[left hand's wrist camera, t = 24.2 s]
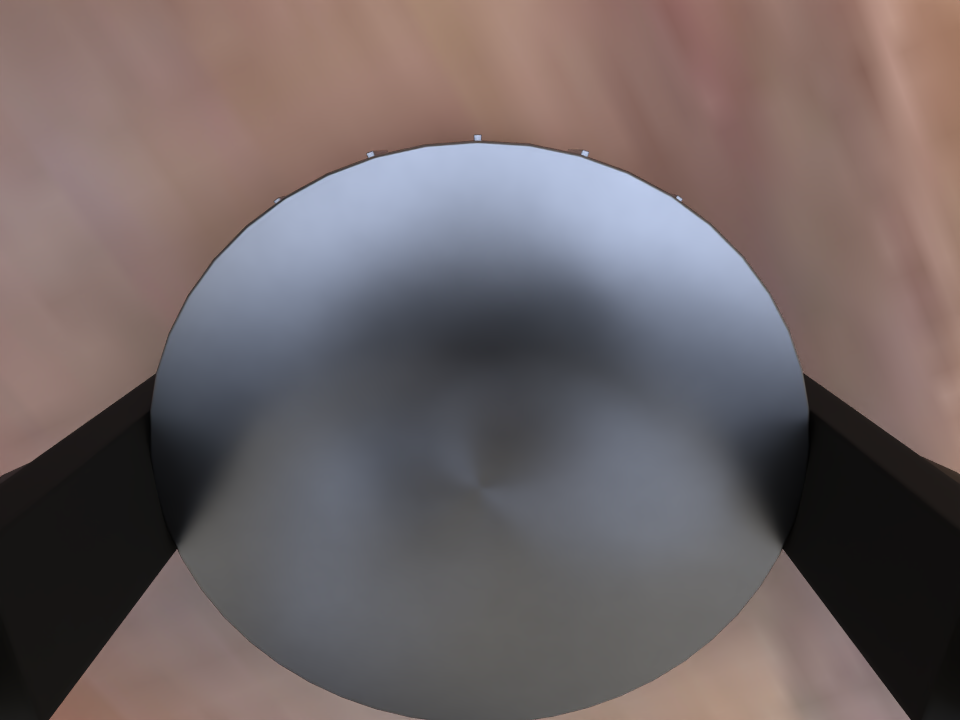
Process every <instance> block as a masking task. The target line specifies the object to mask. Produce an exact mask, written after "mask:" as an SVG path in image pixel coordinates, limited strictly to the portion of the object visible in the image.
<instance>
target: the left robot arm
mask: <svg viewBox="0 0 960 720" xmlns="http://www.w3.org/2000/svg"><path fill="white" fill-rule="evenodd" d="M803 376H804V382H805V388H806V394H807V400H808V406H809V433H810V450H809V457H808V465H807V472H806V477H805V482H804V487H803V491H802V495H801V499H800V504H799V507H798V511H797V514H796V518H795V521H794V524H793V526H792V528H791V530H790V533H789V535H788V537H787V539H786V542H785V544H784V546H783V550H784V551H785V552H786V554H787V555H788V556H789V558H790V559H791V560H792V562H793V563H794V564H795V566H796V567H797V568H798V570H799V571H800V572H801V574H802V575H803V576H804V578H805V579H806V580H807V582H808V583H809V584H810V586H811V587H812V588H813V590H814V591H815V592H816V594H817V595H818V596H819V598H820V599H821V600H822V602H823V603H824V604H825V606H826V607H827V608H828V610H829V611H830V612H831V614H832V615H833V616H834V618H835V619H836V620H837V622H838V623H839V624H840V626H841V627H842V628H843V630H844V631H845V632H846V634H847V635H848V636H849V638H850V639H851V640H852V642H853V643H854V644H855V646H856V647H857V648H858V650H859V651H860V652H861V654H862V655H863V657H864V658H865V659H866V661H867V662H868V663H869V665H870V666H871V667H872V669H873V670H874V671H875V673H876V674H877V675H878V677H879V678H880V679H881V681H882V682H883V683H884V685H885V686H886V687H887V689H888V690H889V691H890V693H891V694H892V695H893V697H894V698H895V699H896V701H897V702H898V703H899V705H900V706H901V707H902V709H903V710H904V711H905V713H906V714H907V715H908V717H909V718H910V719H911V720H960V474H959V473H957V472H955V471H953V470H950V469H948V468H946V467H944V466H942V465H939V464H937V463H935V462H933V461H930V460H928V459H926V458H924V457H922V456H920V455H918V454H917V453H915V452H914V451H912V450H911V449H910V448H908V447H907V446H905V445H904V444H903V443H901V442H900V441H898V440H897V439H896V438H894V437H893V436H891V435H890V434H888V433H887V432H886V431H884V430H883V429H881V428H880V427H879V426H877V425H876V424H874V423H873V422H872V421H870V420H869V419H867V418H866V417H864V416H863V415H862V414H860V413H859V412H857V411H856V410H855V409H853V408H852V407H850V406H849V405H848V404H846V403H845V402H843V401H842V400H840V399H839V398H838V397H836V396H835V395H833V394H832V393H831V392H829V391H828V390H826V389H825V388H824V387H822V386H821V385H819V384H818V383H816V382H815V381H814V380H812V379H811V378H809V377H808V376H807V375H805V374H804V373H803ZM155 378H156V374H155V375H153V376H152V377H150V378H149V379H148V380H146V381H145V382H143V383H142V384H140V385H139V386H138V387H136V388H135V389H133V390H132V391H131V392H129V393H128V394H126V395H125V396H124V397H122V398H121V399H119V400H118V401H116V402H115V403H114V404H112V405H111V406H109V407H108V408H107V409H105V410H104V411H102V412H101V413H100V414H98V415H97V416H95V417H94V418H92V419H91V420H90V421H88V422H87V423H85V424H84V425H83V426H81V427H80V428H78V429H77V430H76V431H74V432H73V433H71V434H70V435H68V436H67V437H66V438H64V439H63V440H61V441H60V442H59V443H57V444H56V445H54V446H53V447H52V448H50V449H49V450H47V451H46V452H44V453H43V454H42V455H40V456H39V457H37V458H36V459H35V460H33V461H32V462H30V463H28V464H26V465H24V466H22V467H19V468H17V469H15V470H13V471H11V472H8V473H6V474H4V475H2V476H1V477H0V720H49V719H50V718H51V716H52V715H53V714H54V712H55V711H56V710H57V708H58V707H59V706H60V704H61V703H62V702H63V700H64V699H65V698H66V696H67V695H68V694H69V692H70V691H71V690H72V688H73V687H74V686H75V684H76V683H77V682H78V680H79V679H80V678H81V676H82V675H83V674H84V672H85V671H86V670H87V668H88V667H89V666H90V664H91V663H92V662H93V660H94V659H95V658H96V656H97V655H98V654H99V652H100V651H101V650H102V648H103V647H104V646H105V644H106V643H107V642H108V640H109V639H110V638H111V636H112V635H113V634H114V632H115V631H116V630H117V628H118V627H119V626H120V624H121V623H122V622H123V620H124V619H125V618H126V616H127V615H128V614H129V612H130V611H131V610H132V608H133V607H134V606H135V604H136V603H137V601H138V600H139V599H140V597H141V596H142V595H143V593H144V592H145V591H146V589H147V588H148V587H149V585H150V584H151V583H152V581H153V580H154V579H155V577H156V576H157V575H158V573H159V572H160V571H161V569H162V568H163V567H164V565H165V564H166V563H167V561H168V560H169V559H170V557H171V556H172V555H173V553H174V552H175V551H176V549H177V547H176V545H175V543H174V541H173V538H172V536H171V534H170V532H169V530H168V528H167V525H166V522H165V519H164V516H163V512H162V509H161V505H160V501H159V497H158V493H157V488H156V483H155V478H154V473H153V468H152V462H151V455H150V410H151V403H152V397H153V391H154V384H155Z"/></svg>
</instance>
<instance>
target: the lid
mask: <svg viewBox="0 0 960 720" xmlns="http://www.w3.org/2000/svg"><path fill="white" fill-rule="evenodd" d="M588 154H589V152H588V151H585V150H574V149H568V152H567V151H562V150H557V149H553V148H548V147H543V146H538V145H533V144H526V143H510V142H495V141H481V135H474V141H463V142H450V143H437V144H425V145H420V146H416V147H411V148H407V149H402V150H397V151H393V152H388V150H384V151H371V152H368V153H367V157H368V158H367V159H364V160H361V161H359V162H356V163H353V164H351V165H348V166H345V167H343V168H340V169H337V170H335V171H332V172H329V173H327V174H325V175H323V176H321V177H320V178H318V179H316V180H314V181H312V182H311V183H309V184H307V185H305V186H303V187H301V188H300V189H298V190H296V191H294V192H292V193H290V194H289V195H287V196H283V197H279V198H277V199H276V200H275V201H274V203H275V204H274V205H273V206H272V207H270V208H269V209H268V210H266V211H265V212H264V213H262V214H261V215H260V216H258V217H257V218H256V219H254V220H253V221H252V222H250V223H249V224H248V225H246V226H245V227H244V228H243V229H242V231H241V232H240V233H239V234H238V235H237V236H236V237H235V238H234V239H233V240H232V241H231V242H230V243H229V244H228V245H227V246H226V247H225V248H224V249H223V250H222V251H221V252H220V253H219V254H218V255H217V256H216V257H215V258H214V259H213V261H212V262H211V264H210V265H209V266H208V268H207V269H206V271H205V272H204V273H203V275H202V276H201V278H200V279H199V280H198V282H197V283H196V285H195V286H194V287H193V289H192V290H191V292H190V293H189V294H188V296H187V298H186V300H185V302H184V304H183V306H182V308H181V310H180V312H179V314H178V316H177V318H176V320H175V322H174V324H173V326H172V328H171V330H170V332H169V334H168V338H167V341H166V344H165V347H164V350H163V353H162V356H161V359H160V363H159V366H158V369H157V372H156V378H155V384H154V391H153V397H152V403H151V410H150V455H151V462H152V468H153V473H154V478H155V483H156V488H157V493H158V497H159V501H160V505H161V509H162V512H163V516H164V519H165V522H166V525H167V528H168V530H169V532H170V534H171V536H172V538H173V541H174V543H175V545H176V547H177V549H178V552H179V554H180V556H181V558H182V560H183V561H184V563H185V564H186V566H187V568H188V569H189V571H190V572H191V574H192V576H193V577H194V579H195V580H196V582H197V584H198V585H199V587H200V588H201V590H202V591H203V592H204V593H205V595H206V596H207V597H208V598H209V599H210V601H211V602H212V603H213V604H214V606H215V607H216V608H217V609H218V610H219V612H220V613H221V614H222V615H223V617H224V618H225V619H226V620H228V621H229V622H230V623H231V624H232V625H233V626H234V627H235V628H236V629H237V630H238V631H239V632H240V633H241V634H242V635H243V636H244V637H245V638H246V639H247V640H248V641H249V642H251V643H252V644H253V645H255V646H256V647H257V648H259V649H260V650H261V651H262V652H264V653H265V654H266V655H268V656H269V657H270V658H272V659H273V660H274V661H276V662H277V663H278V664H280V665H282V666H283V667H285V668H287V669H288V670H290V671H292V672H293V673H295V674H297V675H298V676H300V677H302V678H303V679H305V680H306V681H308V682H310V683H312V684H314V685H316V686H319V687H321V688H323V689H325V690H327V691H329V692H331V693H334V694H336V695H338V696H340V697H342V698H345V699H348V700H351V701H354V702H357V703H360V704H362V705H365V706H368V707H371V708H374V709H377V710H382V711H386V712H390V713H394V714H398V715H402V716H407V717H411V718H418V719H425V720H534V719H541V718H548V717H553V716H557V715H561V714H565V713H569V712H573V711H577V710H582V709H586V708H589V707H592V706H594V705H597V704H600V703H603V702H606V701H608V700H611V699H614V698H617V697H620V696H622V695H624V694H626V693H628V692H630V691H632V690H634V689H637V688H639V687H641V686H643V685H645V684H647V683H649V682H651V681H653V680H655V679H657V678H658V677H660V676H661V675H663V674H665V673H666V672H668V671H670V670H671V669H673V668H674V667H676V666H678V665H679V664H681V663H683V662H684V661H685V660H687V659H688V658H689V657H691V656H692V655H693V654H694V653H696V652H697V651H698V650H700V649H701V648H702V647H703V646H705V645H706V644H707V643H709V642H710V641H711V640H712V639H713V638H714V637H715V636H716V635H717V634H718V633H719V632H721V631H722V630H723V629H724V628H725V627H726V626H727V625H728V624H729V623H730V622H731V621H732V620H733V619H734V618H735V617H736V616H737V615H738V614H739V612H740V611H741V610H742V609H743V607H744V606H745V605H746V604H747V602H748V601H749V600H750V599H751V597H752V596H753V595H754V594H755V593H756V591H757V590H758V589H759V588H760V586H761V585H762V583H763V581H764V580H765V578H766V576H767V575H768V573H769V572H770V570H771V568H772V567H773V565H774V563H775V562H776V560H777V559H778V557H779V555H780V553H781V551H782V548H783V546H784V544H785V542H786V539H787V537H788V535H789V533H790V530H791V528H792V526H793V524H794V521H795V518H796V514H797V511H798V507H799V504H800V499H801V495H802V491H803V487H804V482H805V477H806V472H807V465H808V457H809V450H810V433H809V406H808V400H807V394H806V388H805V382H804V376H803V370H802V367H801V364H800V361H799V358H798V355H797V352H796V349H795V346H794V343H793V340H792V337H791V334H790V331H789V329H788V327H787V325H786V323H785V321H784V319H783V317H782V315H781V313H780V311H779V309H778V307H777V305H776V303H775V302H774V300H773V298H772V296H771V294H770V292H769V291H768V289H767V288H766V286H765V285H764V284H763V282H762V281H761V280H760V278H759V277H758V276H757V274H756V273H755V271H754V270H753V269H752V267H751V266H750V265H749V263H748V262H747V261H746V259H745V258H744V256H743V255H742V254H741V253H740V252H739V251H738V250H737V249H736V248H735V247H734V246H733V245H732V244H731V243H730V242H729V241H728V240H727V239H726V238H725V237H724V236H723V235H722V234H721V233H720V232H719V231H718V230H717V229H716V228H715V227H714V226H713V225H712V224H711V223H709V222H708V221H707V220H705V219H704V218H703V217H701V216H700V215H699V214H697V213H696V212H695V211H693V210H692V209H690V208H689V207H688V206H686V205H685V204H684V203H682V202H681V201H682V200H683V199H682V198H681V197H679V196H678V195H674V194H670V193H668V192H666V191H664V190H662V189H660V188H658V187H656V186H655V185H653V184H651V183H649V182H647V181H645V180H643V179H641V178H639V177H638V176H636V175H634V174H632V173H630V172H628V171H626V170H623V169H620V168H617V167H614V166H612V165H609V164H606V163H603V162H601V161H598V160H595V159H592V158H589V157H588Z"/></svg>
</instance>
